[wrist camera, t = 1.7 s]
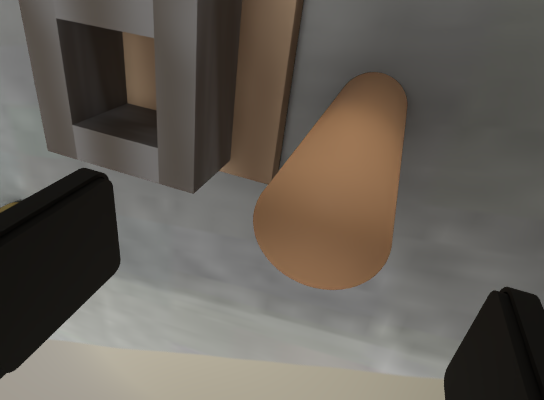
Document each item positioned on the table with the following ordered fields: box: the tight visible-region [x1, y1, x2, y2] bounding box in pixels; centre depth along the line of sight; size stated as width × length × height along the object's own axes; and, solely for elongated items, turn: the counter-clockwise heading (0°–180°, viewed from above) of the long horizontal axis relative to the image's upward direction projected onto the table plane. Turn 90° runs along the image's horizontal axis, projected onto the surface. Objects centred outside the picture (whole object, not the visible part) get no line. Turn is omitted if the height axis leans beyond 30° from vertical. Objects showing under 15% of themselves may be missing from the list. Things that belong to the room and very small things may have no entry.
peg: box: [253, 72, 407, 290], centre depth 17 cm, size 4×4×14 cm
